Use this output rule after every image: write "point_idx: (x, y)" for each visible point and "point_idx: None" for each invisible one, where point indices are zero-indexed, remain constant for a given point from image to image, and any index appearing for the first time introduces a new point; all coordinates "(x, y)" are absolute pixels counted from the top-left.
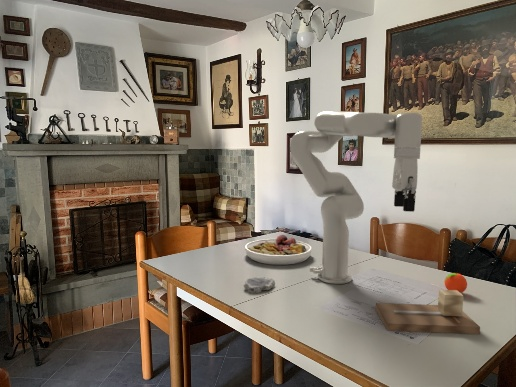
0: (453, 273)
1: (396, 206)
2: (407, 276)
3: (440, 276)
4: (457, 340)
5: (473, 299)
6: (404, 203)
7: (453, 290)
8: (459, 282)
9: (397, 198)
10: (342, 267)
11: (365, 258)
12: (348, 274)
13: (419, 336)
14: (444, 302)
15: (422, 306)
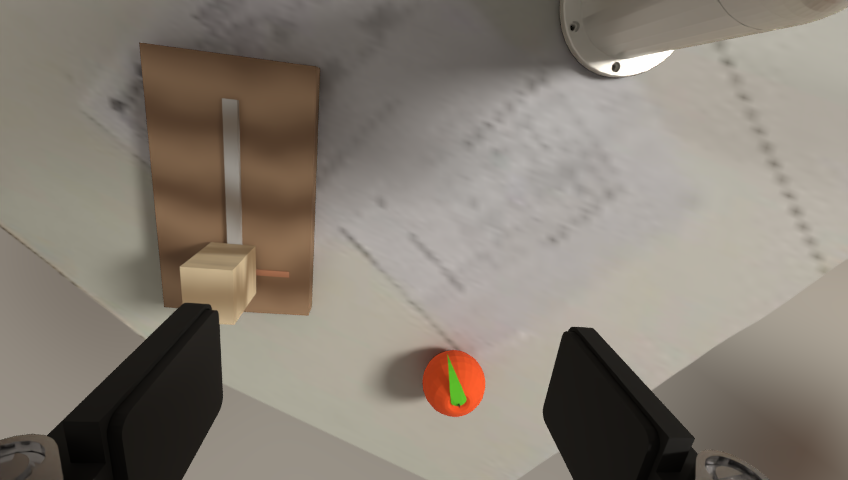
0: (463, 397)
1: (565, 342)
2: (599, 290)
3: None
4: (125, 226)
5: (401, 386)
6: (128, 361)
7: (230, 313)
8: (427, 388)
9: (608, 417)
10: (609, 8)
11: (817, 215)
12: (634, 69)
13: (129, 132)
14: (192, 257)
15: (294, 216)
